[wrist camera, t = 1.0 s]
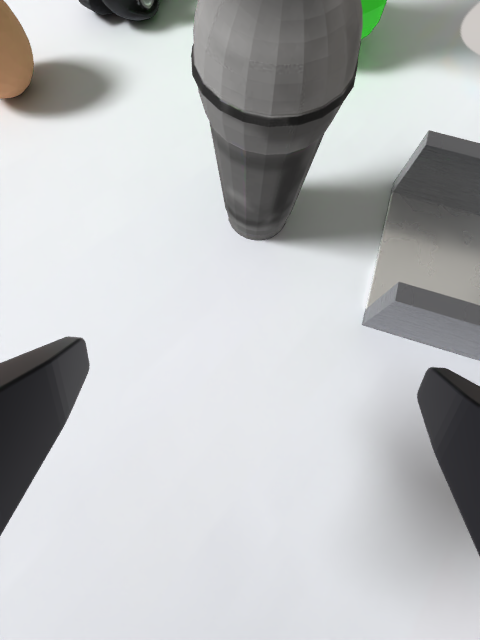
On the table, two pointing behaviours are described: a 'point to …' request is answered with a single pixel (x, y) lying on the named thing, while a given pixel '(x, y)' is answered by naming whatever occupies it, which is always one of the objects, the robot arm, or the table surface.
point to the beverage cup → (271, 95)
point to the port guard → (432, 250)
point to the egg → (13, 55)
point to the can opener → (124, 8)
